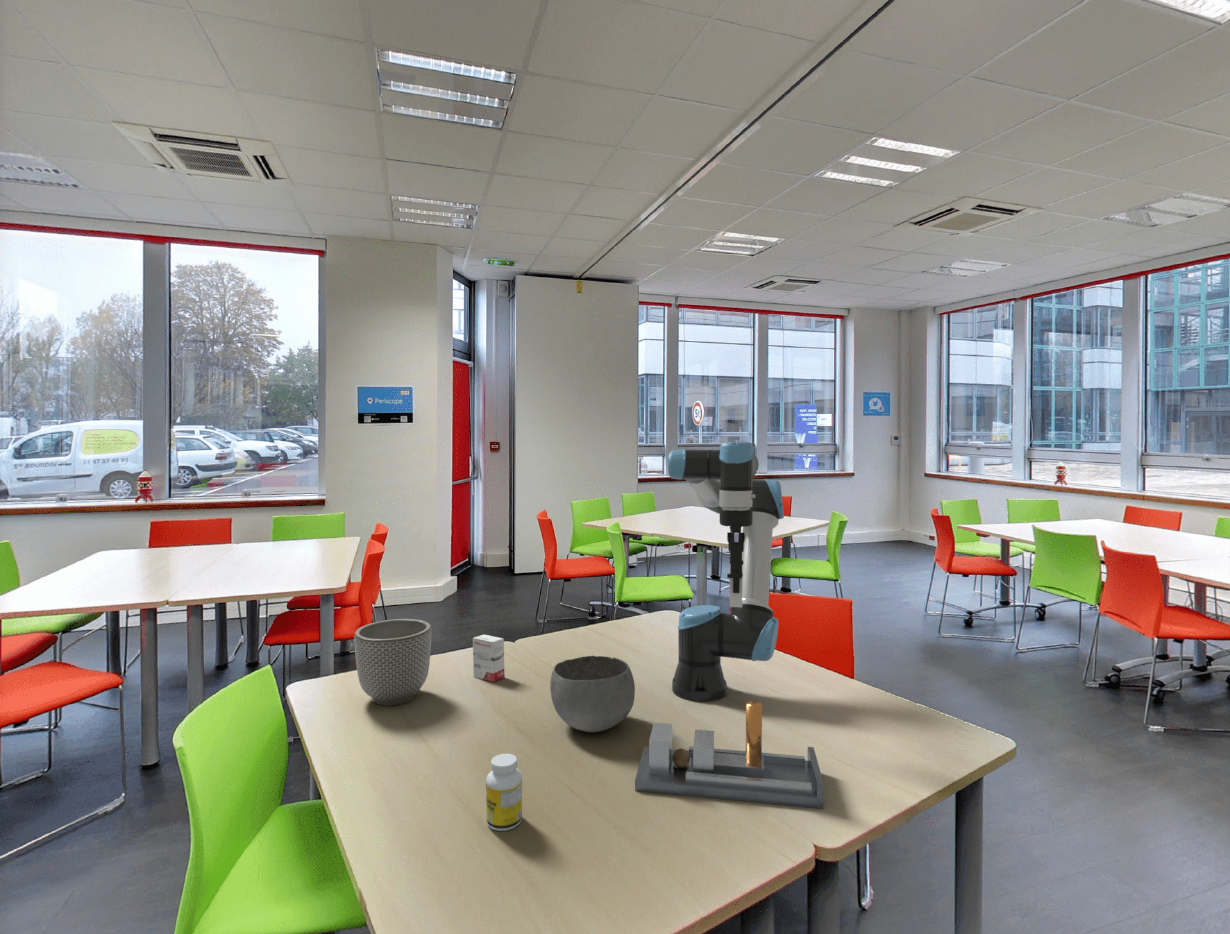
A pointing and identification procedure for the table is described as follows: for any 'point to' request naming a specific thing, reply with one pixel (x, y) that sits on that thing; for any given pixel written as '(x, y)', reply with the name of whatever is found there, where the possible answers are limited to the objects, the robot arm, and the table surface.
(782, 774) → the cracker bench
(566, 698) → the bowl
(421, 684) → the planter
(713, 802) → the table surface
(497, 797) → the pill bottle
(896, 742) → the table surface
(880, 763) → the table surface
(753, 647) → the robot arm
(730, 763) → the ram handle
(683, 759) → the walnut
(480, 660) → the ink box
